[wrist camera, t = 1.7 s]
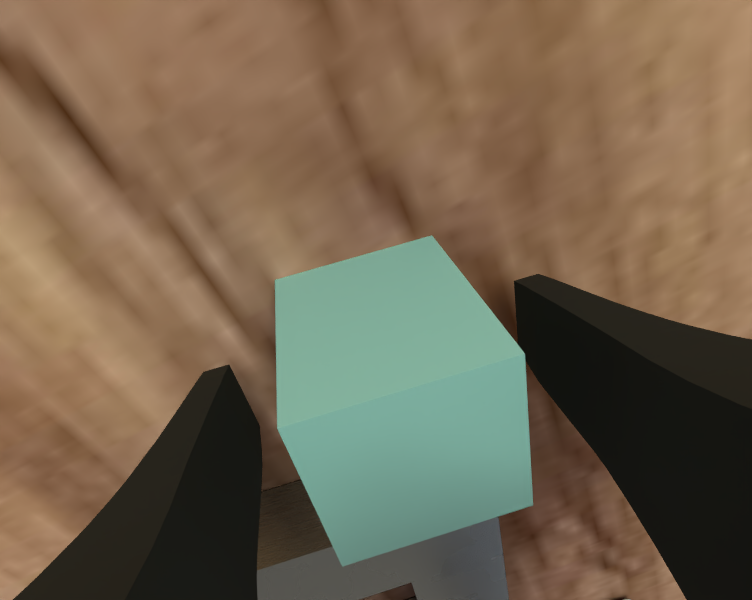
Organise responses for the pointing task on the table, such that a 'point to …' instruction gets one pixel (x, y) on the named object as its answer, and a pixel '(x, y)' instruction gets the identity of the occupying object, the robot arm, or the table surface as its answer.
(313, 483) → the teal block
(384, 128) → the table surface
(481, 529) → the grey square-hole plate
